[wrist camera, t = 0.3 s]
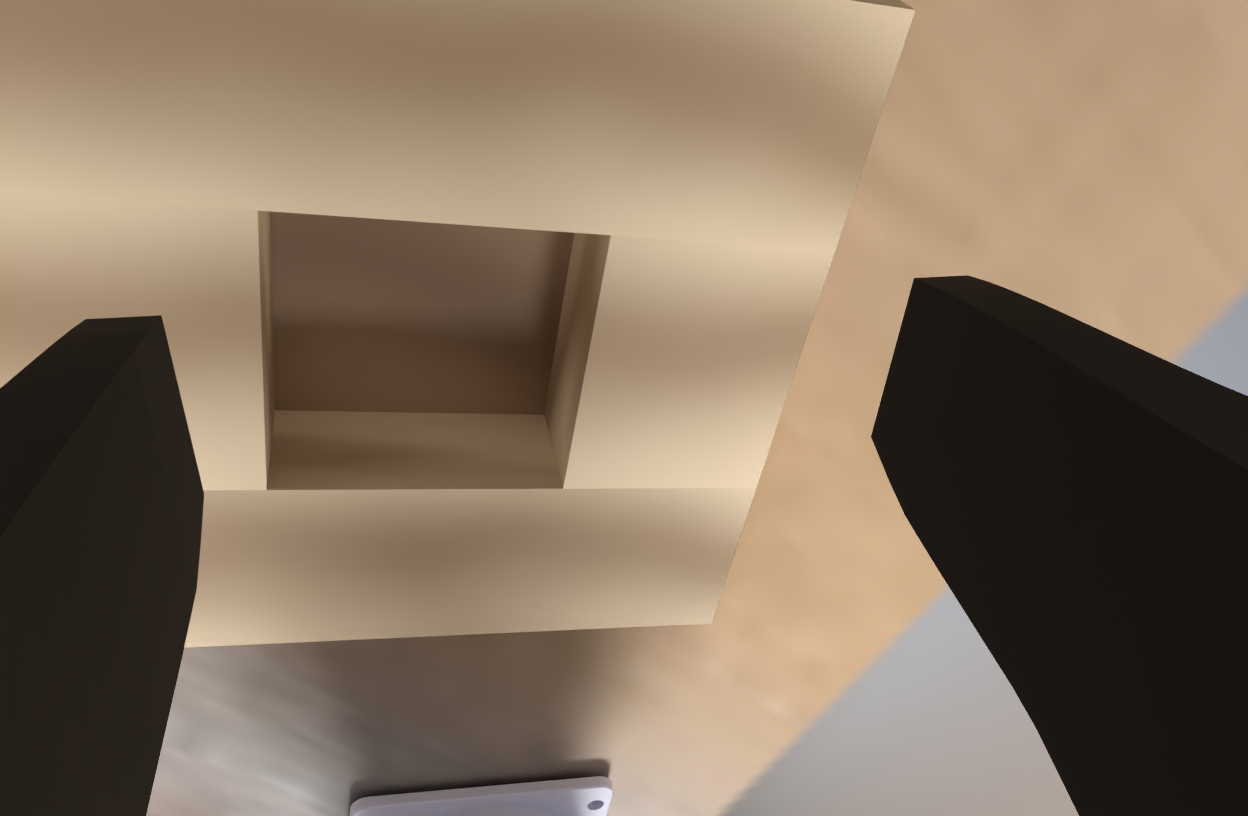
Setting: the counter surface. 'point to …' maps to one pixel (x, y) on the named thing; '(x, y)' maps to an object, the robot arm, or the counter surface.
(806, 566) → the counter surface
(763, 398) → the oak socket block
